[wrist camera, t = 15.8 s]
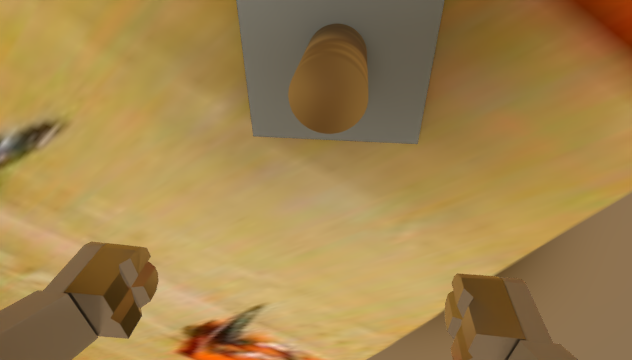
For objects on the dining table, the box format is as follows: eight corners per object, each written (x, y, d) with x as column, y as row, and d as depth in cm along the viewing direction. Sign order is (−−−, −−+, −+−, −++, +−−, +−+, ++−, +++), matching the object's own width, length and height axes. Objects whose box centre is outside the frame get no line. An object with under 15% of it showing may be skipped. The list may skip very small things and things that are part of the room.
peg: (369, 23, 24) (371, 58, 18) (364, 85, 27) (365, 135, 20) (306, 22, 24) (286, 56, 18) (307, 83, 27) (290, 132, 21)
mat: (452, -61, 21) (455, -61, 21) (416, 139, 30) (417, 144, 29) (232, -60, 23) (229, -59, 22) (255, 131, 31) (253, 136, 30)
